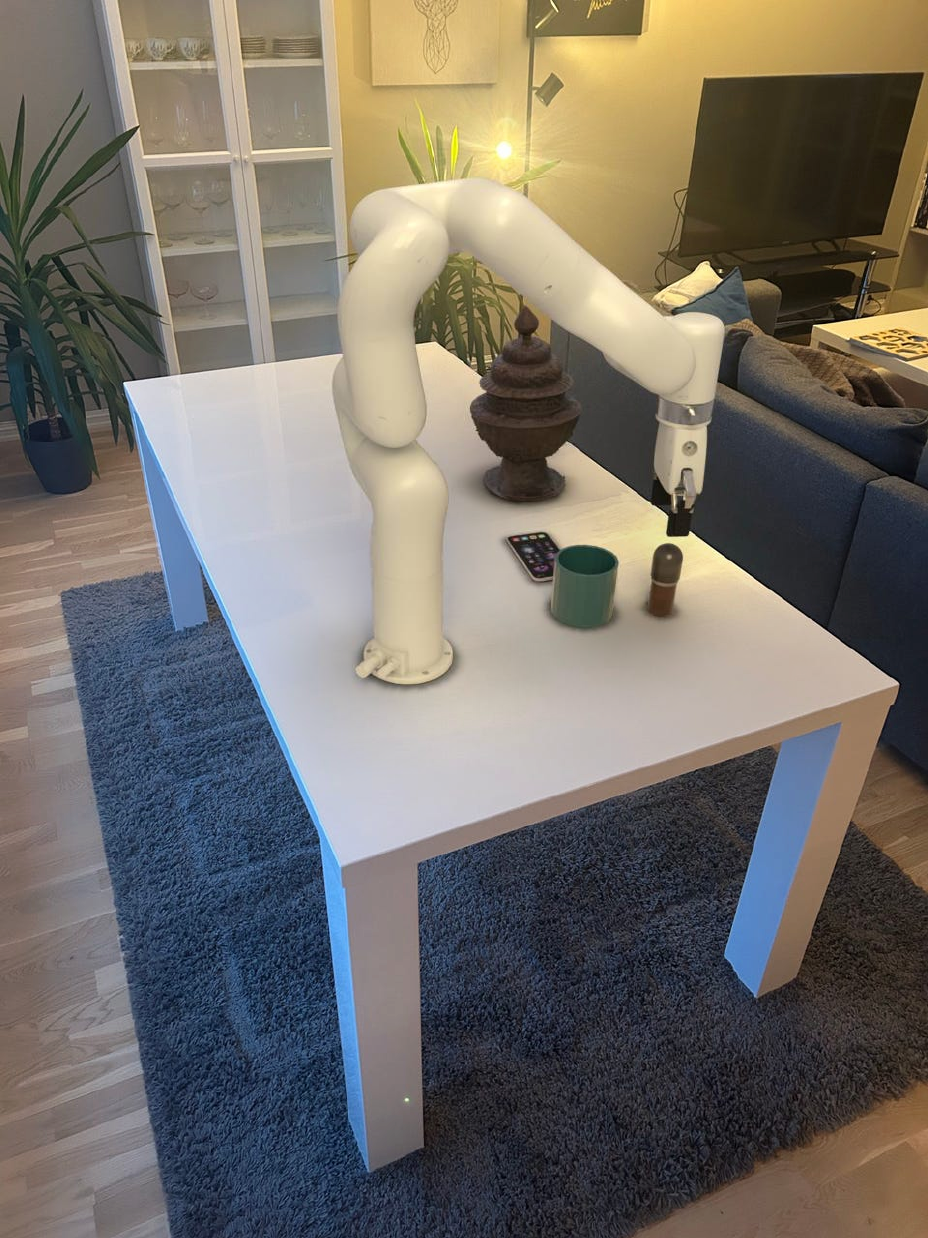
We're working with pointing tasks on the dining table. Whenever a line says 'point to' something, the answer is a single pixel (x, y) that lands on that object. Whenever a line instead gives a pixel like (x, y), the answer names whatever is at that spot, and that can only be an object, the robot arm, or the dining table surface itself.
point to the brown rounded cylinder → (664, 579)
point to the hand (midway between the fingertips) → (668, 519)
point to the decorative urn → (525, 415)
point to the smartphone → (535, 553)
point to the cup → (584, 585)
